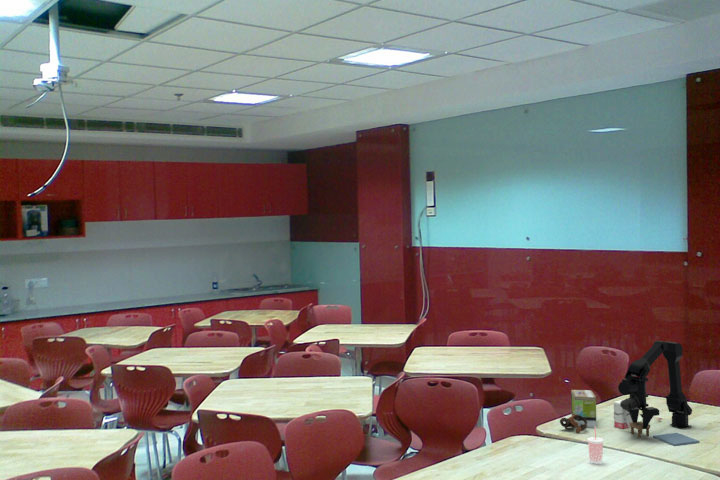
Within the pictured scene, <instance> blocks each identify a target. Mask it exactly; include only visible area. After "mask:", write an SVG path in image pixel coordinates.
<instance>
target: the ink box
mask: <svg viewBox="0 0 720 480" xmlns="http://www.w3.org/2000/svg"><path fill="white" fill-rule="evenodd" d="M625 399H626V398H625ZM625 399H620V400H616V401H613V422H614V424H613V425H614V428H617V429H621V430H625V429H628V428H631V427H630V423H632V419H631V416H630V414H629V412H628V411H626V410H625V409H622V407H621V404H620V402H621V401H622V400H625Z"/></svg>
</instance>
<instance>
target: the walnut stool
mask: <svg viewBox="0 0 720 480" xmlns="http://www.w3.org/2000/svg"><path fill="white" fill-rule="evenodd" d="M629 428H630V435H632V436H633V435H634V436H635V429H636V430H637V438H642V437H641V435H642V434H643V430H645V434H646V435H645V436H646V437H650V429H651V424H650V423H649V424H648V426H647V428H646V429H644V428H643V421H637V422H632V423H630V427H629Z"/></svg>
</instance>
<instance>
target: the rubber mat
mask: <svg viewBox="0 0 720 480" xmlns="http://www.w3.org/2000/svg"><path fill="white" fill-rule="evenodd" d="M652 438H653V439H655V440H658V441H661V442H663V443H666V444H668V445H670V446H674V447H677V446H684V445H685V446H686V445H693V444H700V440H698V439H695V438H693V437H691V436H687V435H684V434H682V433H679V432H672V433H670V432H669V433H665V434H663V433H662V434H657V435H656V434H655V435H652Z"/></svg>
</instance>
